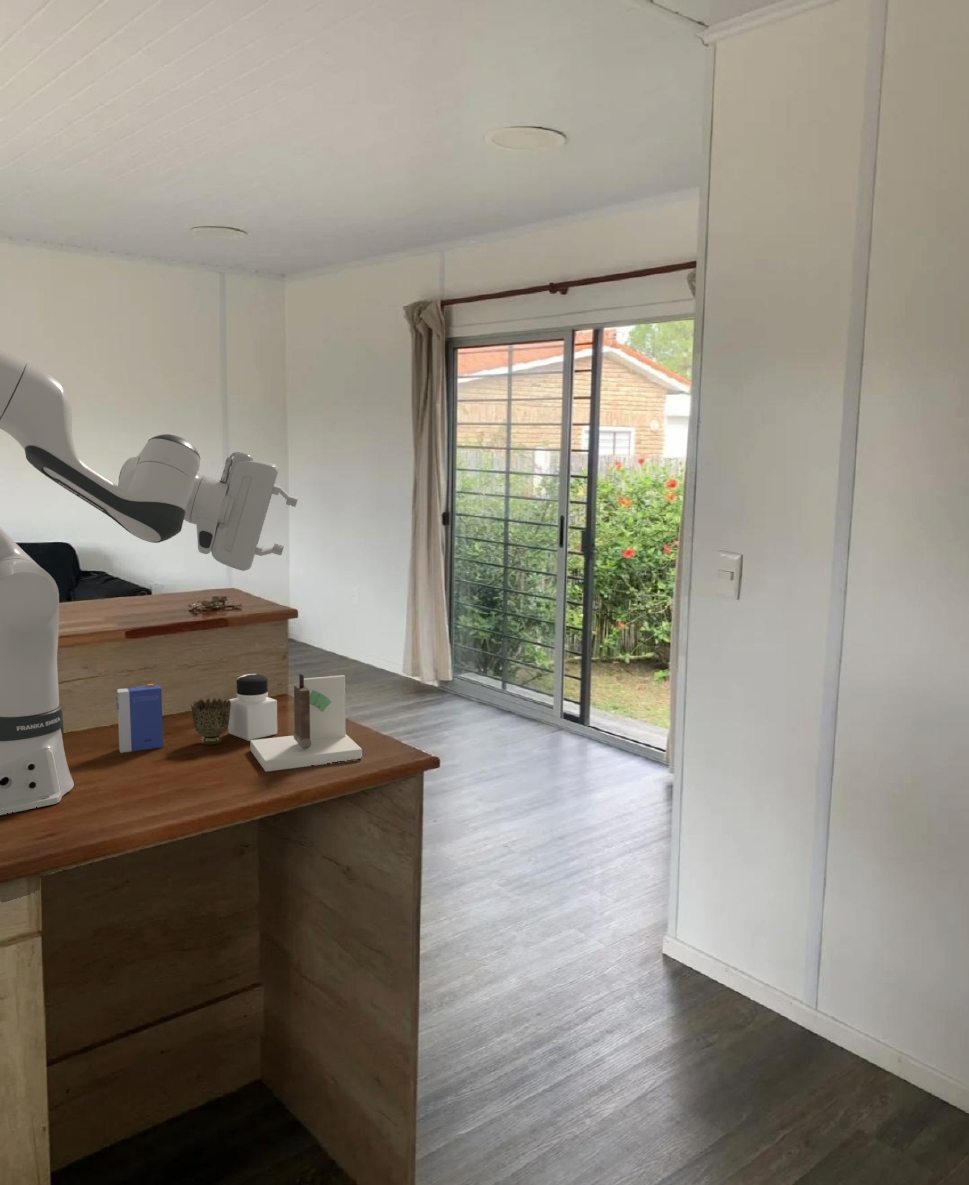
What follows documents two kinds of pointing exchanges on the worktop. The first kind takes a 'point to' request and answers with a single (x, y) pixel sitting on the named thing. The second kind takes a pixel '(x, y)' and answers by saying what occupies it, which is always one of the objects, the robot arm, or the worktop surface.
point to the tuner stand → (313, 731)
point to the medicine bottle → (252, 709)
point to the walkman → (140, 718)
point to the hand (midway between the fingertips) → (289, 526)
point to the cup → (211, 719)
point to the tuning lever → (302, 714)
